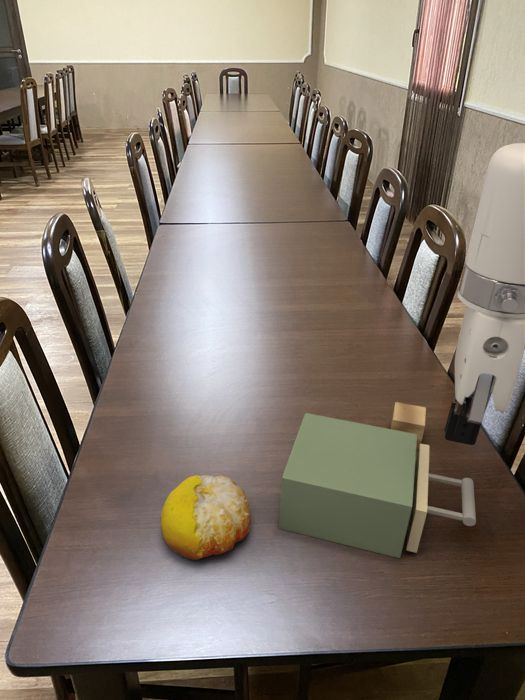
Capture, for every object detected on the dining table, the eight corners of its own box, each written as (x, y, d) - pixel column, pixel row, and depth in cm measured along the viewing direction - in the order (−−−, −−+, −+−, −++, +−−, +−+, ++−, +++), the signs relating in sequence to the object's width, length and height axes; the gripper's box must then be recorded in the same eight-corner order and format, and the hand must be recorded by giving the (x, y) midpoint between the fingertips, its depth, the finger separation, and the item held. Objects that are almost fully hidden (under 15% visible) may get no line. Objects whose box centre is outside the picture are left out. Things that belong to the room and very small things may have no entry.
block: (420, 430, 82) (426, 407, 80) (419, 449, 79) (425, 425, 76) (391, 425, 83) (395, 401, 81) (388, 443, 80) (393, 419, 77)
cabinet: (406, 483, 73) (417, 434, 68) (400, 558, 62) (412, 506, 58) (301, 460, 76) (305, 412, 72) (278, 528, 66) (281, 477, 61)
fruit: (232, 581, 59) (210, 528, 56) (156, 567, 64) (132, 517, 60) (270, 507, 68) (253, 458, 64) (201, 500, 73) (182, 453, 69)
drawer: (465, 493, 70) (477, 454, 67) (468, 565, 61) (482, 524, 57) (320, 462, 75) (324, 424, 71) (302, 525, 65) (306, 484, 62)
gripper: (560, 330, 43) (500, 494, 52) (534, 263, 55) (490, 405, 65) (462, 316, 45) (421, 477, 54) (458, 253, 57) (426, 393, 66)
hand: (459, 437), depth 59 cm, fingers closed
